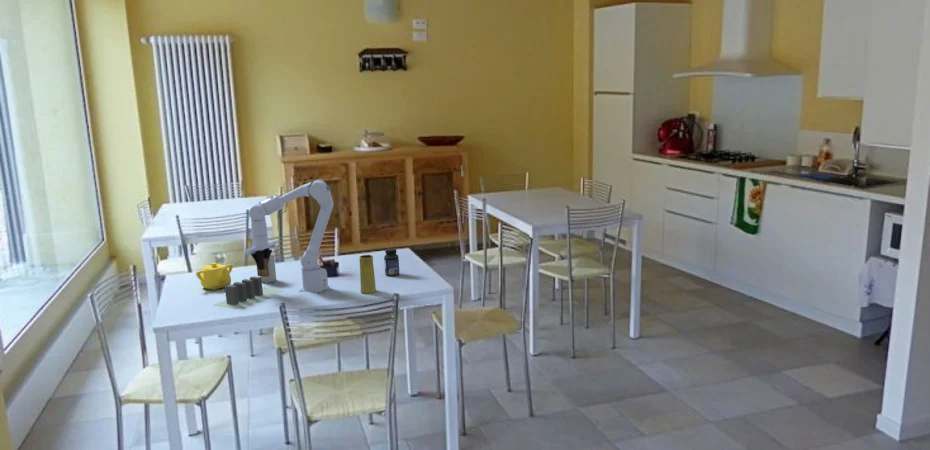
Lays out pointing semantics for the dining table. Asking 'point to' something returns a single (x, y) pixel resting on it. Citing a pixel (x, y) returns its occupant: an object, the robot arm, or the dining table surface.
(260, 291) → the domino
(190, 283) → the dining table surface
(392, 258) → the pill bottle
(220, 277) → the teapot
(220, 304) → the mat
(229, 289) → the domino
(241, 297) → the domino
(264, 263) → the domino
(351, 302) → the dining table surface
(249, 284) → the domino
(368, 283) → the vase
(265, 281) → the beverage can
